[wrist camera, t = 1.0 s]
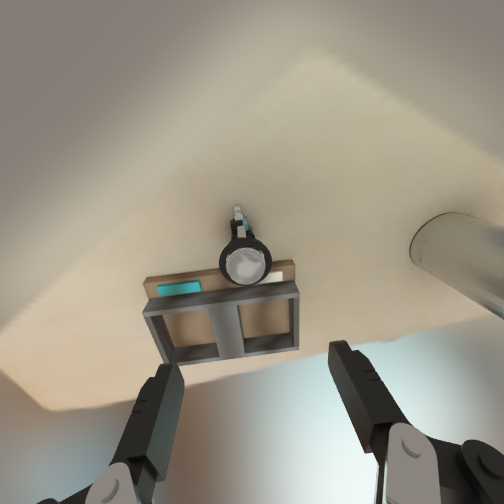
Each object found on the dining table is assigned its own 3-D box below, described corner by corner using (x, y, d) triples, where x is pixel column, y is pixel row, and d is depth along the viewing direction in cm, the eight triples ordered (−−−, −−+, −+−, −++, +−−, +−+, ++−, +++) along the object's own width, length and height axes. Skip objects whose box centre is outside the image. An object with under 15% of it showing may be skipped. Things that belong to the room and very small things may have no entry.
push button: (217, 207, 27) (209, 235, 18) (257, 201, 27) (268, 225, 18) (227, 252, 30) (224, 295, 21) (263, 246, 30) (276, 287, 21)
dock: (292, 259, 31) (300, 275, 27) (293, 331, 38) (300, 352, 34) (146, 278, 31) (133, 297, 27) (173, 347, 38) (166, 370, 33)
